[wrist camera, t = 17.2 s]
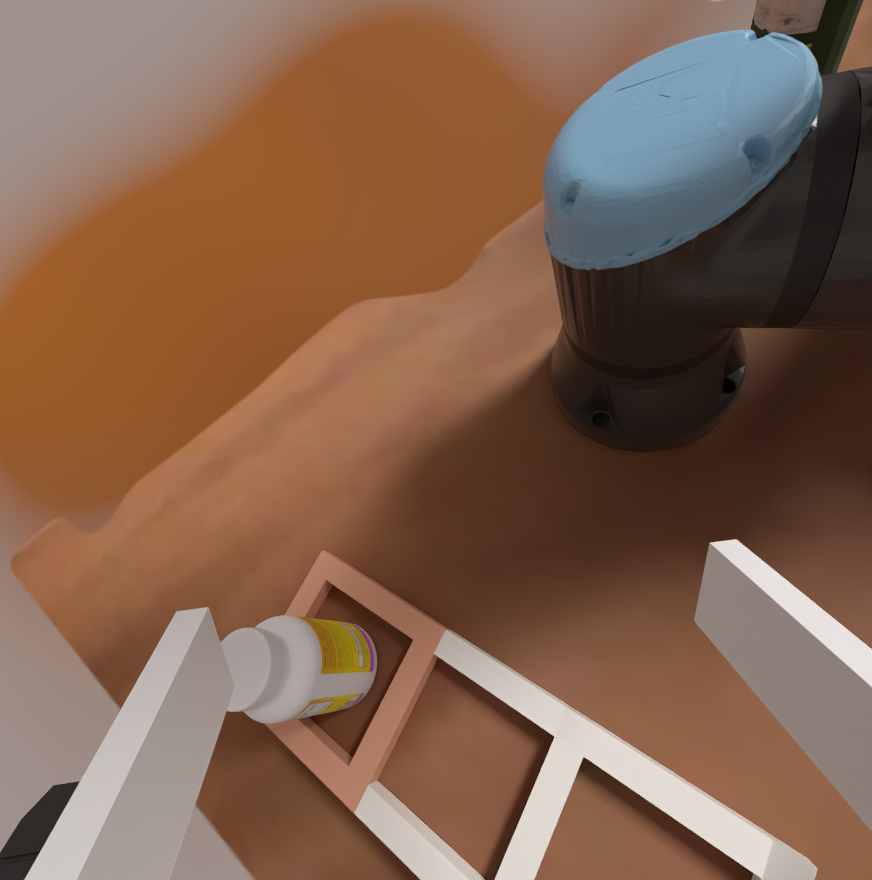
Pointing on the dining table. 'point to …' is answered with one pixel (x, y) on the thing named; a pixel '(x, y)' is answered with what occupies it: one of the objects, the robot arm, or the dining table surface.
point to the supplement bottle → (298, 667)
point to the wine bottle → (810, 26)
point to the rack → (575, 736)
